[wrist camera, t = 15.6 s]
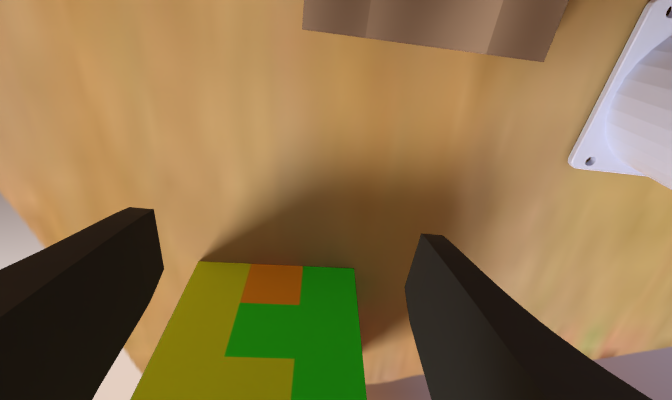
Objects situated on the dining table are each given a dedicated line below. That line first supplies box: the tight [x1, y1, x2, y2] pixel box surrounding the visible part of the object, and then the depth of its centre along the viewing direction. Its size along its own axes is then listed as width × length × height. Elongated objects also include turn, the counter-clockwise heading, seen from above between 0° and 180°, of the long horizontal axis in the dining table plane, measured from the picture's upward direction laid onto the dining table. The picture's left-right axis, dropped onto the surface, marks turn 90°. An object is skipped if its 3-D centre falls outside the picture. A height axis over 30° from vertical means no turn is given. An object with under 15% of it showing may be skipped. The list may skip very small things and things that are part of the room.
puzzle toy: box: [130, 261, 367, 400], centre depth 20 cm, size 10×10×10 cm
